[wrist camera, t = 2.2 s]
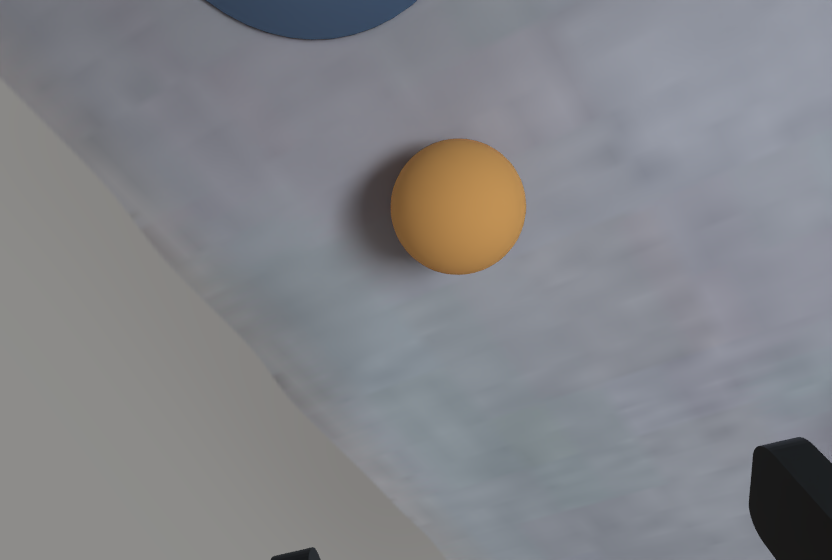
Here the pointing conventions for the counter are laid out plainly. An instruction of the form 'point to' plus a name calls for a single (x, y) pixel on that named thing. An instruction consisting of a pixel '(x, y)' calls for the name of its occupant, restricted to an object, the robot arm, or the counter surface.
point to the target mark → (312, 15)
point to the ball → (458, 206)
